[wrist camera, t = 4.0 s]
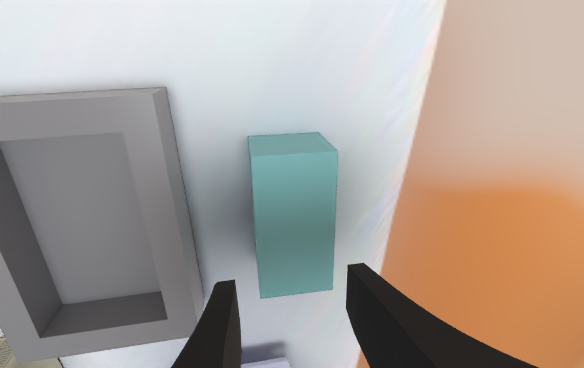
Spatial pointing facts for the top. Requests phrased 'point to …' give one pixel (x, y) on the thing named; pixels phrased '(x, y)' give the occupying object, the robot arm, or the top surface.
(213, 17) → the top surface
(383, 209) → the top surface
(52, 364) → the skincare box
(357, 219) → the top surface
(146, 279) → the socket block
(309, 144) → the peg
